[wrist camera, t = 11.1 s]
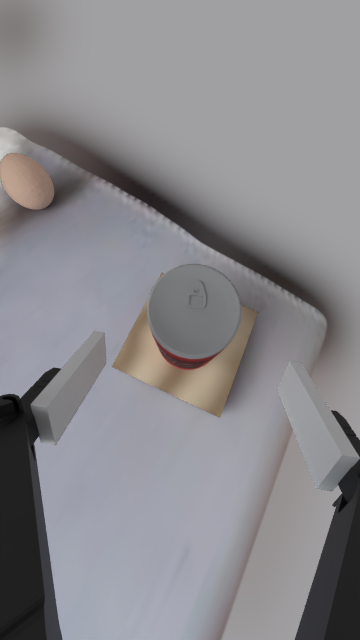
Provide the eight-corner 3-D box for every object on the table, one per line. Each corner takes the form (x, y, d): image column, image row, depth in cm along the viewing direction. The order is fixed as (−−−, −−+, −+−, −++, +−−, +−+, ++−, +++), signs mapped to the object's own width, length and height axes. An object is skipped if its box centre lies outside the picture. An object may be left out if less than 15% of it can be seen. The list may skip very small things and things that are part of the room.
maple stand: (118, 368, 30) (111, 366, 27) (163, 282, 34) (161, 272, 31) (215, 415, 28) (220, 417, 25) (251, 318, 32) (258, 311, 29)
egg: (20, 194, 38) (-19, 146, 31) (58, 184, 39) (30, 135, 32) (25, 224, 37) (-14, 180, 29) (66, 213, 37) (37, 168, 30)
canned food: (210, 304, 29) (229, 256, 19) (224, 364, 27) (255, 348, 17) (153, 313, 29) (139, 270, 18) (162, 376, 27) (153, 366, 16)
